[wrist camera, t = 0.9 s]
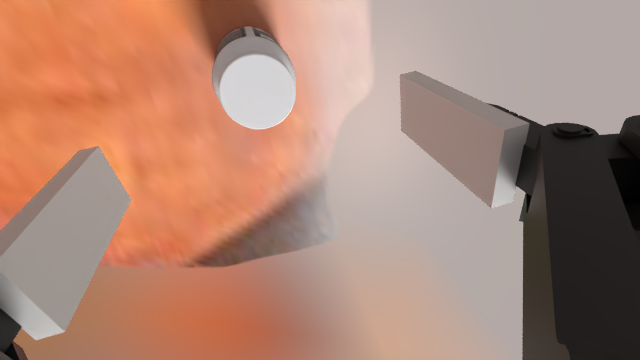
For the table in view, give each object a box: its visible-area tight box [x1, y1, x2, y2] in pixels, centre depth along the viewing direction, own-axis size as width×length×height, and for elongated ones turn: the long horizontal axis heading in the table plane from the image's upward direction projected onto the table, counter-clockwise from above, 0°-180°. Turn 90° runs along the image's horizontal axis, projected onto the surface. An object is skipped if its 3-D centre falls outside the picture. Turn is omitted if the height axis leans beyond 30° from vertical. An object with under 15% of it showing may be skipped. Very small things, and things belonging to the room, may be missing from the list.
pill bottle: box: [212, 26, 296, 129], centre depth 23 cm, size 6×6×10 cm
